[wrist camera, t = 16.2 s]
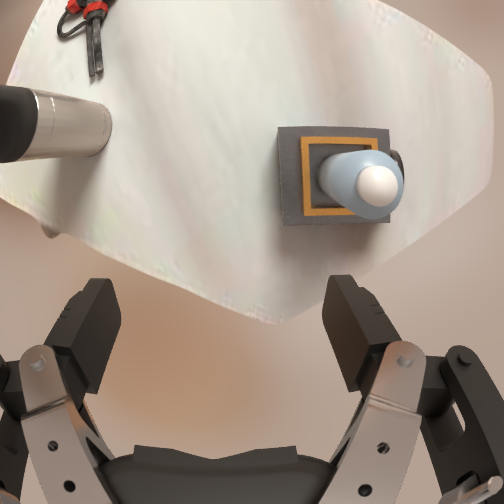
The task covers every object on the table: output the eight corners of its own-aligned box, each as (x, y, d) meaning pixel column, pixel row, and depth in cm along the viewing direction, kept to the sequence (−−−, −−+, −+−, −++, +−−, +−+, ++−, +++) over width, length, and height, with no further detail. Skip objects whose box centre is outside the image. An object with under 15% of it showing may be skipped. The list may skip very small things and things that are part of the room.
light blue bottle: (317, 199, 34) (344, 224, 20) (315, 154, 32) (342, 147, 19) (360, 198, 34) (410, 222, 20) (359, 154, 32) (411, 151, 18)
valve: (69, 1, 32) (124, -35, 28) (71, 97, 40) (131, 63, 36) (50, -5, 26) (106, -46, 22) (47, 96, 34) (107, 56, 30)
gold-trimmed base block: (281, 216, 41) (283, 228, 33) (277, 132, 38) (278, 124, 30) (384, 214, 40) (406, 226, 32) (383, 134, 36) (405, 129, 28)
